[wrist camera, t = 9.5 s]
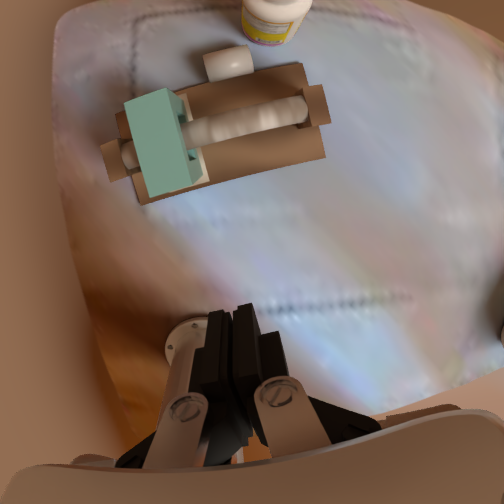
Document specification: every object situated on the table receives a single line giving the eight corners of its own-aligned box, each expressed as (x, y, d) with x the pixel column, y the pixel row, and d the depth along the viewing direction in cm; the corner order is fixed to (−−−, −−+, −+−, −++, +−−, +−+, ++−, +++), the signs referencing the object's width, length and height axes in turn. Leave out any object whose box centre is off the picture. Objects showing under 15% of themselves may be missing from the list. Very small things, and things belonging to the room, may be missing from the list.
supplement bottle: (272, -4, 28) (288, -58, 16) (306, 31, 30) (337, -12, 18) (229, 21, 29) (226, -30, 17) (263, 58, 31) (277, 18, 19)
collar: (203, 174, 34) (192, 185, 26) (170, 184, 34) (149, 198, 26) (183, 100, 31) (166, 87, 23) (150, 111, 31) (123, 102, 23)
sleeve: (248, 61, 32) (255, 78, 31) (207, 71, 32) (211, 89, 31) (244, 39, 29) (251, 54, 27) (201, 49, 29) (204, 65, 28)
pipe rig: (324, 157, 36) (345, 161, 28) (142, 204, 37) (121, 220, 29) (301, 64, 32) (317, 46, 24) (116, 114, 32) (89, 109, 25)
